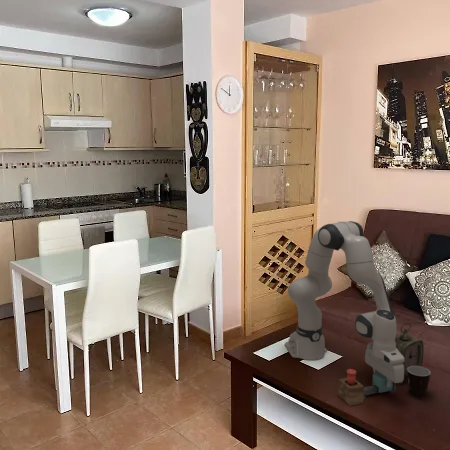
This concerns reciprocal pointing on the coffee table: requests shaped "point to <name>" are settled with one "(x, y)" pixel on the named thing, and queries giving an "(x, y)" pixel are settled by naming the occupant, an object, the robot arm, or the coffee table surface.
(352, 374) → the red rounded peg
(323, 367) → the coffee table surface
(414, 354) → the tabletop clock
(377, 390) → the rail
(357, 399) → the wooden box
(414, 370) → the coffee mug
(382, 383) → the block
